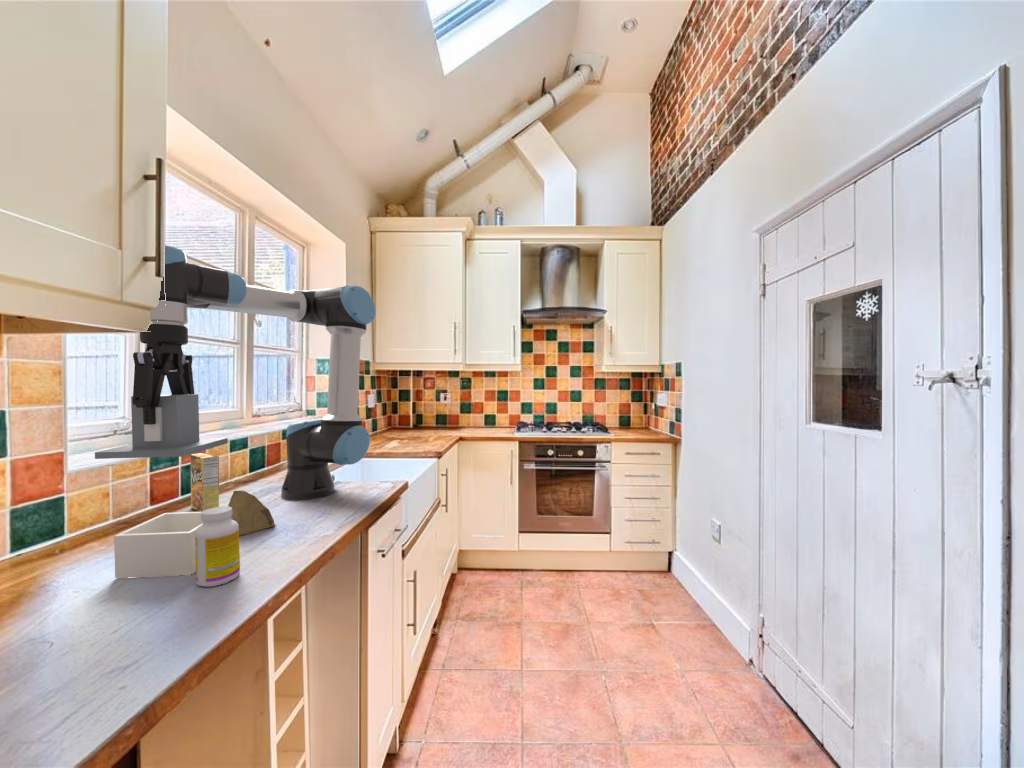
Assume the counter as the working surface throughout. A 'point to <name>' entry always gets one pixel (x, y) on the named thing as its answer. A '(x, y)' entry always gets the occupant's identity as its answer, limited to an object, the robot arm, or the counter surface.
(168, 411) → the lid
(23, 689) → the counter surface
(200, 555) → the supplement bottle
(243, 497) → the rock
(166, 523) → the storage box
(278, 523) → the counter surface
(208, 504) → the candy box
